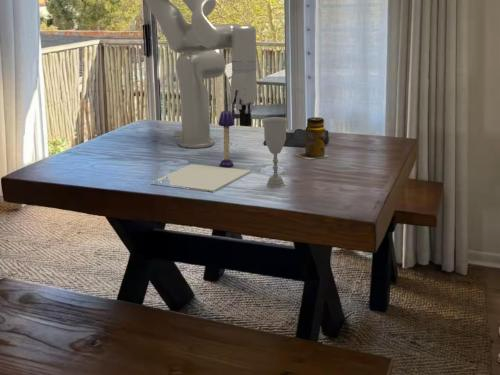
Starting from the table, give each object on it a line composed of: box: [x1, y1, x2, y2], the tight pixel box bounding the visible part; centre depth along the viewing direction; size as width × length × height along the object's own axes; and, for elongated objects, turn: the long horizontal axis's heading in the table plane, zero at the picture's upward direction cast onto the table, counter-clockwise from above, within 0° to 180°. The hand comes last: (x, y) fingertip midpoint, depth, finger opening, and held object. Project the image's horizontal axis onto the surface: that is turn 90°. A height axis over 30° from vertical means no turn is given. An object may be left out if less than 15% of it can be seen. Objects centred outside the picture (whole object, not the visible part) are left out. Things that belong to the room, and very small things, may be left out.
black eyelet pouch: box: [263, 128, 330, 149], centre depth 233 cm, size 15×22×5 cm
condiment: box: [296, 116, 331, 160], centre depth 212 cm, size 7×8×12 cm
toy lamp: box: [217, 110, 235, 168], centre depth 201 cm, size 5×5×17 cm
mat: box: [153, 163, 252, 193], centre depth 190 cm, size 20×22×1 cm
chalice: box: [261, 116, 289, 189], centre depth 180 cm, size 7×7×18 cm
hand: (245, 125), depth 211 cm, fingers closed
